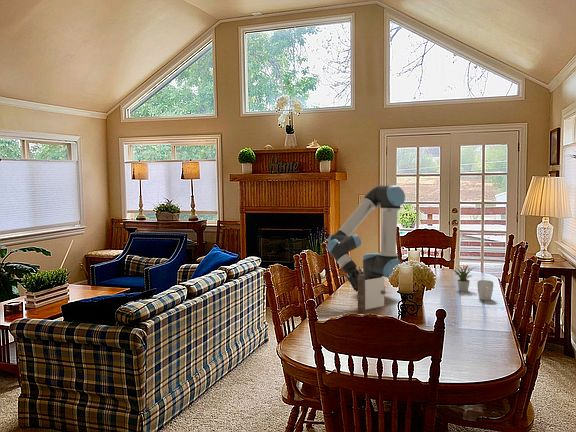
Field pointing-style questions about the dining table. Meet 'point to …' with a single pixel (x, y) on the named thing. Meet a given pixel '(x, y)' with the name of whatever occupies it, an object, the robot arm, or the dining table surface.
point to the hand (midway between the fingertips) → (372, 297)
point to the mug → (485, 289)
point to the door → (374, 293)
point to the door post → (361, 293)
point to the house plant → (463, 278)
